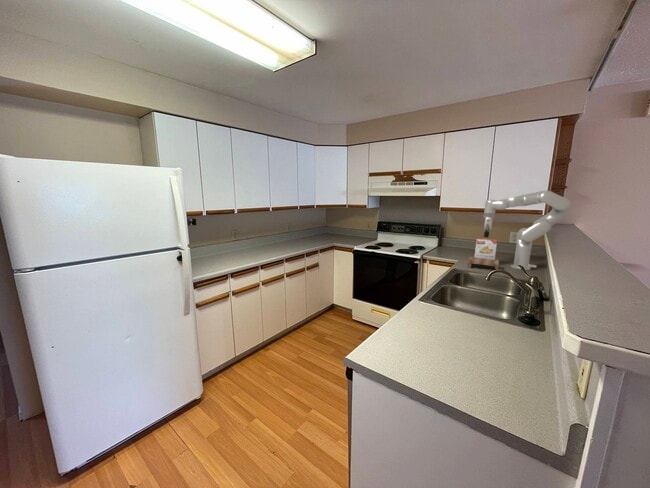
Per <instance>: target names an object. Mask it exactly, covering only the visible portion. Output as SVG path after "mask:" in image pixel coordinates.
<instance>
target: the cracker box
mask: <svg viewBox="0 0 650 488" xmlns="http://www.w3.org/2000/svg"><path fill="white" fill-rule="evenodd" d="M475 242H476V243H475V248H474V250H475V251H474V256H473V257H475V258H484V259H493V260H496V253H497V245H498V240H497V239H490V238H489V239H488V238H476V241H475Z"/></svg>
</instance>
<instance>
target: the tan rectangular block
mask: <svg viewBox="0 0 650 488" xmlns="http://www.w3.org/2000/svg"><path fill="white" fill-rule="evenodd" d="M474 264H475V265H483V266H491V267H494V270H495V269H498V270H499V265H500V260H499V259H495V260H493V259H484V258H475V257H474V256H470V257H469V259H468V263H467V268H468V269H471V268H472V265H474Z"/></svg>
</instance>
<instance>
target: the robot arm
mask: <svg viewBox="0 0 650 488" xmlns="http://www.w3.org/2000/svg"><path fill="white" fill-rule="evenodd" d="M542 203H543V204H546V205H547V206H550V207H552V209H551V210H550V212H548V213H546V214H545V215H543V216H542V217H541V218H538V219H537V220H535V221H534V222H533V223H532V225H531V226H529V227H522V228H520V229H519V230H518V231H517V234H516V243H515V244H516V246H515V251H514V252H515V253H514V259H513V264H511V265H510V267H511V268H512V269H515V270H521V268H520V267H519V266H518V265H521V266H523V267H524V269H525V270H524V271H530V270H531V269H532V268H535V269H536V268H537V265H536V264H530V261H531V260H530V259H531V253H532V248H533V246H532V245H533V241H535V240H537V239H538V238H539V239H540V237H542V236H544V235H546V234H545V232H547V233H549V232H550V231H551V229H552V226H554V225H555V224H557V223H558V222H560V221H561V220H563V219H564V217H565V216H566V214H567V211H568V210H569V209H571V207H572V201H571V200H569V199H568V198H567V197H564V196H561V195H559V194H557V193H555V192H553V191H551V190H543V191H542V190H541V191H536V192H530V193H526V194H521V195H517V196H514V197H508V198H503V199H498V200H496V199H486V200H485V203H484V211H483V218H484V227H483V228H484V229H483V230H484V233H483V238H489V236H490V231H491V230H492V227H493V219H494V218H495V217H496V216H495V215H496V210H501V211H502V210H505V209H508V208H516V207H527V206H532V205H537V204H542ZM521 271H522V270H521Z"/></svg>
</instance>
